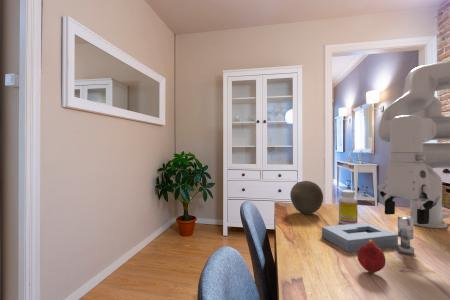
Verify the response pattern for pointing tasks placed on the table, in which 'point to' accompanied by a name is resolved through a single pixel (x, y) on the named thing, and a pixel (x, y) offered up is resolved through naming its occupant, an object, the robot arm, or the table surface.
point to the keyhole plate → (358, 236)
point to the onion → (371, 257)
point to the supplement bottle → (347, 207)
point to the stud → (405, 235)
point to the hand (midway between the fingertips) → (405, 218)
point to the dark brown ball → (306, 197)
